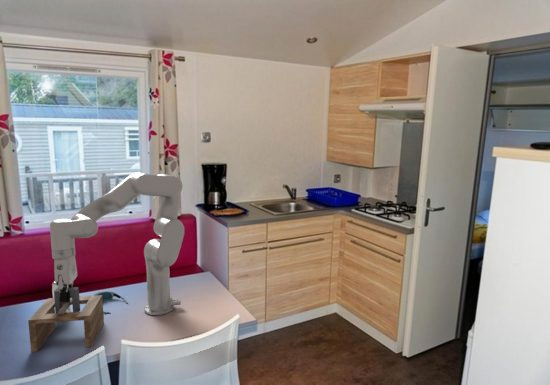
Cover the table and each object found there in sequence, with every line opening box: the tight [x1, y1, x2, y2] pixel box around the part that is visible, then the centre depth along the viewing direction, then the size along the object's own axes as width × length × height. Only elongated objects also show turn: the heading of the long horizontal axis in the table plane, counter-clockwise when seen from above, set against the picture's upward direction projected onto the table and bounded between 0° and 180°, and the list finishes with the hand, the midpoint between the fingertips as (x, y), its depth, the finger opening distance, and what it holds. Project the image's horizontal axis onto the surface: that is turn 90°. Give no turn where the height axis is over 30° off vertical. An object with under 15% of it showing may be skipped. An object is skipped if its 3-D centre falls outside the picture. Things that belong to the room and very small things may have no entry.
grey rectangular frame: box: [54, 286, 81, 313], centre depth 143 cm, size 8×3×9 cm, turn 101°
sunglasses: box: [92, 290, 129, 315], centre depth 171 cm, size 14×15×5 cm
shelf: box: [27, 295, 105, 353], centre depth 144 cm, size 20×18×14 cm
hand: (67, 299), depth 143 cm, fingers closed on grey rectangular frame, 3 cm apart
